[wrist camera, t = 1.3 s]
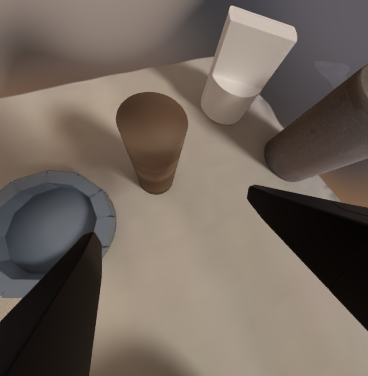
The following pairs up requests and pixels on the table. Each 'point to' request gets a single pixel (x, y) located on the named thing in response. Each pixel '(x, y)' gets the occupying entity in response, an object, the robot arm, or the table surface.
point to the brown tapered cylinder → (153, 137)
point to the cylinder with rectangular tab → (244, 63)
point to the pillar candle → (324, 134)
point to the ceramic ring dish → (47, 225)
